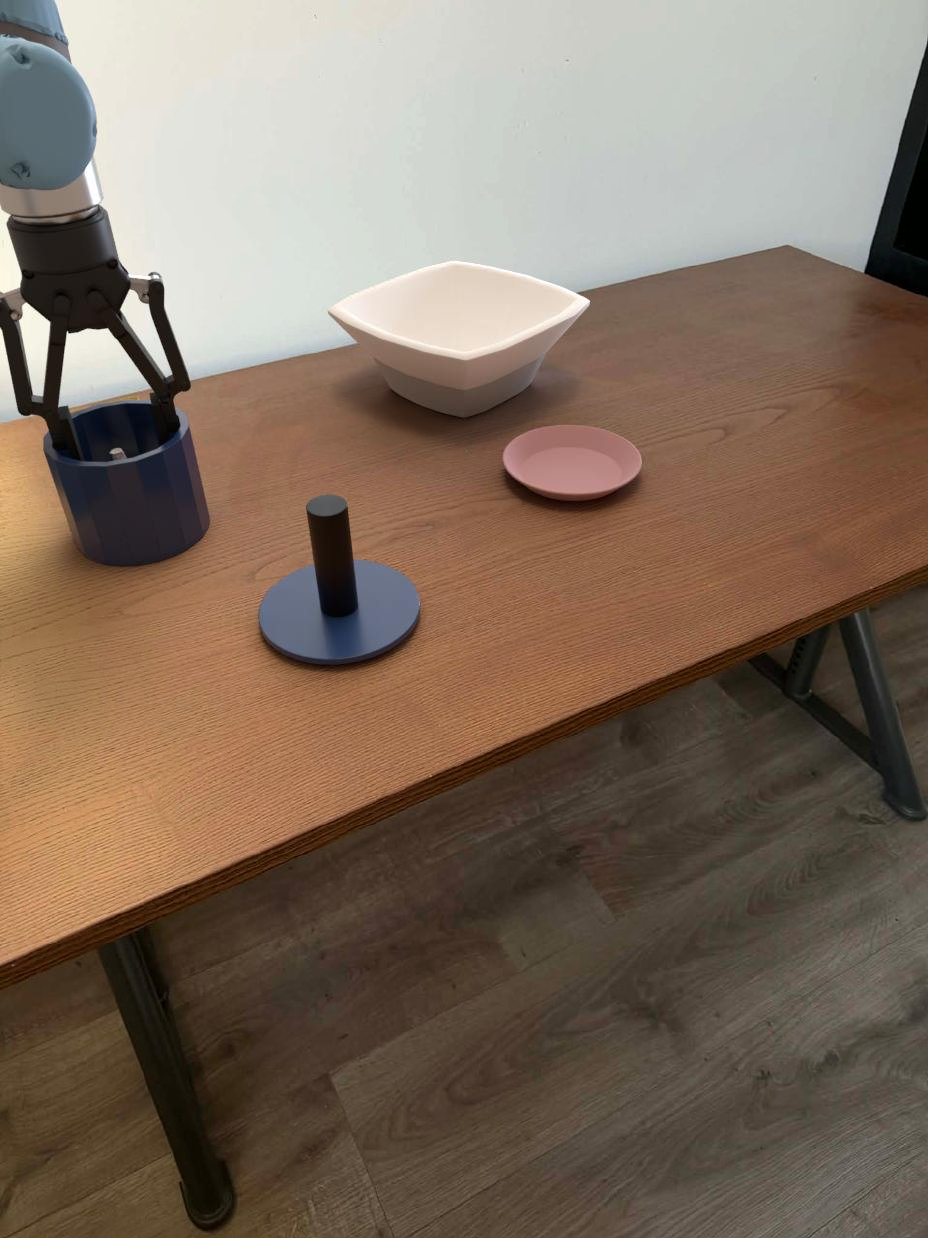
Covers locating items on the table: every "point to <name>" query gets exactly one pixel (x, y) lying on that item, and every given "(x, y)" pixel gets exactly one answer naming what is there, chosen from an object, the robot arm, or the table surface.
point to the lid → (337, 598)
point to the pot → (129, 486)
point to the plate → (572, 462)
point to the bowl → (459, 332)
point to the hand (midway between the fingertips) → (127, 469)
